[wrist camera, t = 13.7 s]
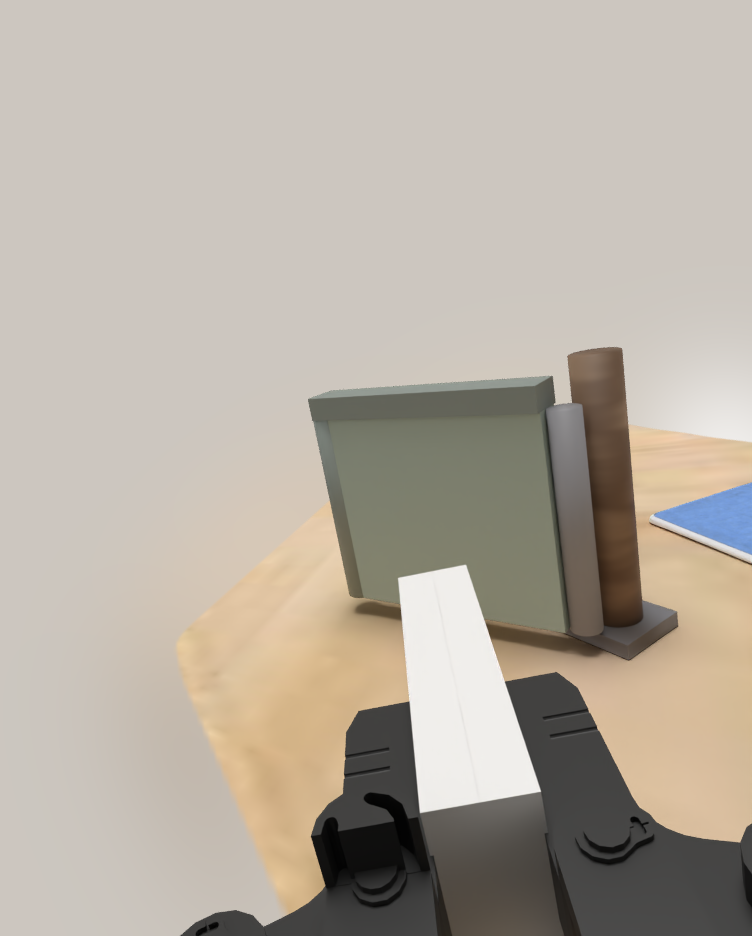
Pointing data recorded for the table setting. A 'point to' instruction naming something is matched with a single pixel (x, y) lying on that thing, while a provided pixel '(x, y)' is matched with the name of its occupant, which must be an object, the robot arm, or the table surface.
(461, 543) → the panel
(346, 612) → the table surface
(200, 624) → the table surface
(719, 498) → the tablet computer
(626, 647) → the hinge post
